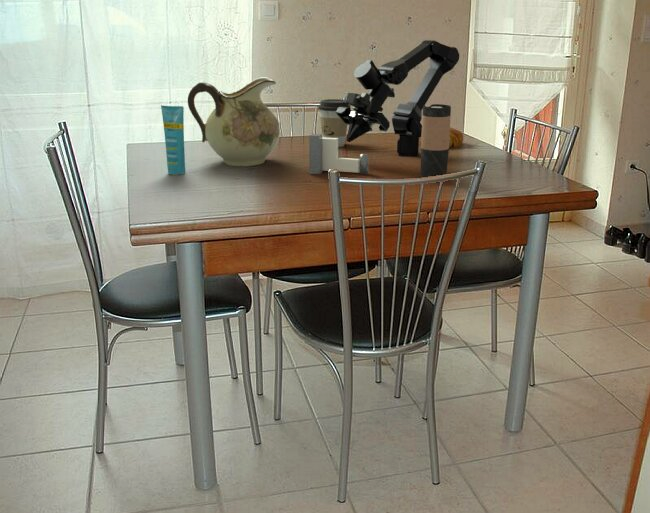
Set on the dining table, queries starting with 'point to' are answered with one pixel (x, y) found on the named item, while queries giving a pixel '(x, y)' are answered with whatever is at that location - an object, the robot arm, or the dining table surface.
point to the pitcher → (238, 123)
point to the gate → (336, 157)
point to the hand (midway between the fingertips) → (347, 141)
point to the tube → (174, 138)
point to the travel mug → (435, 139)
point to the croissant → (455, 138)
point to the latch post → (315, 153)
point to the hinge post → (364, 163)
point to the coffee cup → (333, 120)
